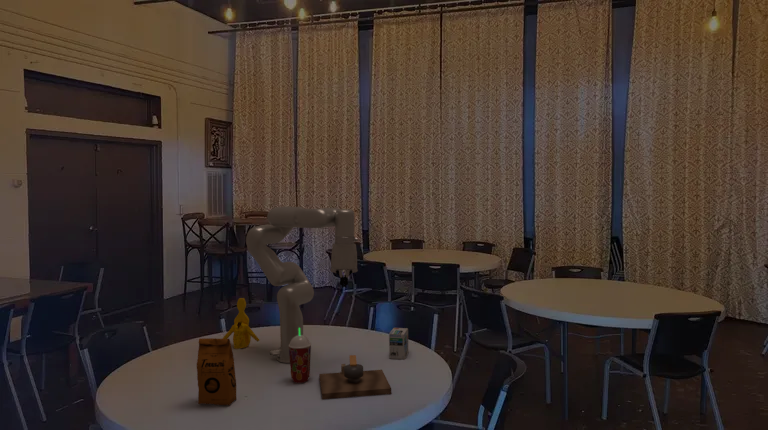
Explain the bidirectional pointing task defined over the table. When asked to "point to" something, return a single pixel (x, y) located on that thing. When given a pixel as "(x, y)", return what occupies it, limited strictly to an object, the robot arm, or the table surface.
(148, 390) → the table surface
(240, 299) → the figure statuette
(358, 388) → the wooden board with lever
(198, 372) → the coffee package
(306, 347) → the smoothie
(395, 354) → the light bulb box
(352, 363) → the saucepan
